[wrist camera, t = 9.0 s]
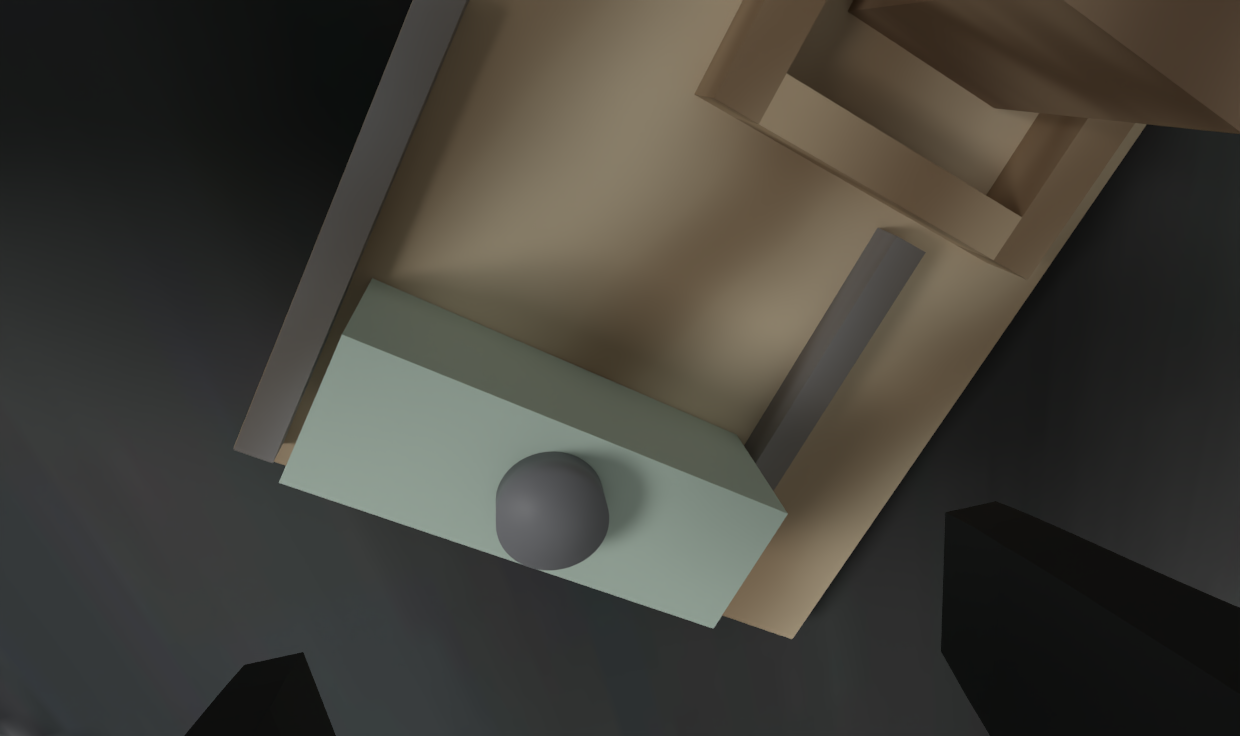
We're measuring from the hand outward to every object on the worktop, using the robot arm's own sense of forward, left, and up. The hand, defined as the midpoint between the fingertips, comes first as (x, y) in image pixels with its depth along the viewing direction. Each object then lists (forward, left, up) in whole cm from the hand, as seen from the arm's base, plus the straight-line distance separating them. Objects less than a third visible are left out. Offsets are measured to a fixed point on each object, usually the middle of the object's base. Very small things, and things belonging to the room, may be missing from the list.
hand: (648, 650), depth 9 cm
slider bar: (0, -2, -9) cm, 9 cm away
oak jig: (+2, +6, -10) cm, 12 cm away
